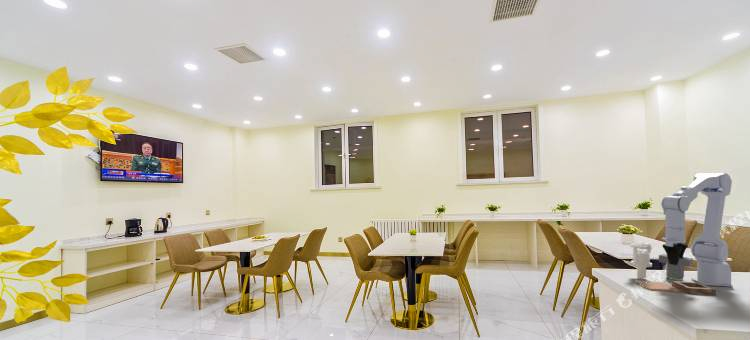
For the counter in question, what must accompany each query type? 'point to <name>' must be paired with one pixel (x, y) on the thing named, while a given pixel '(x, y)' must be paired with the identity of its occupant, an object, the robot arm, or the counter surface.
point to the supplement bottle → (672, 277)
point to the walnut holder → (694, 288)
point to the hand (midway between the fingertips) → (675, 263)
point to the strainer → (641, 258)
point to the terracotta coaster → (658, 286)
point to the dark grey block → (676, 266)
